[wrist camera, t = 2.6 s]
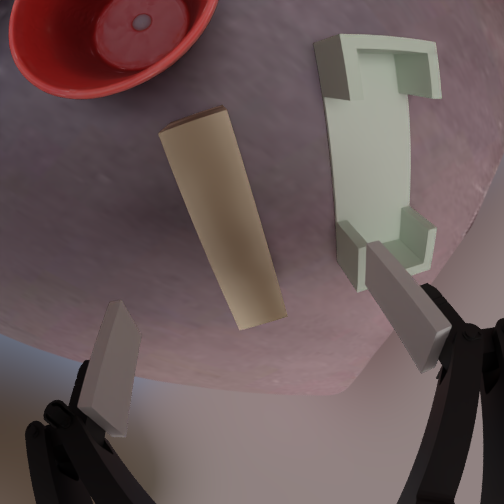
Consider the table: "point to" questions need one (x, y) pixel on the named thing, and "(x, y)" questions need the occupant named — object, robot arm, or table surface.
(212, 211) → the wooden block
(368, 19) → the table surface
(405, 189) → the green tray
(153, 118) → the table surface
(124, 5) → the flower pot
